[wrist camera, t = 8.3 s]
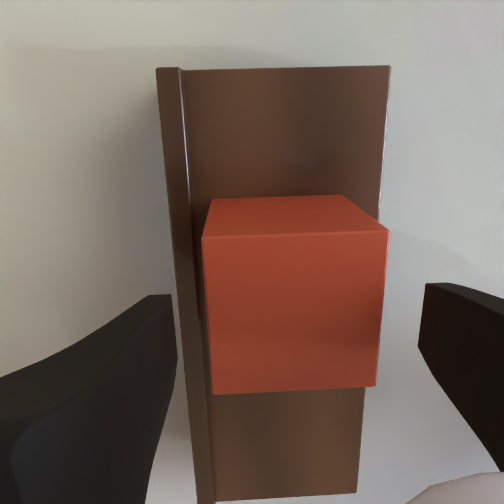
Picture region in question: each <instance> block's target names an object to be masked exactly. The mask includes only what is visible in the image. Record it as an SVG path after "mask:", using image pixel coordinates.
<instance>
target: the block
mask: <svg viewBox="0 0 504 504" xmlns="http://www.w3.org/2000/svg"><path fill="white" fill-rule="evenodd" d="M201 243H202V257H203V271H204V285H205V299H206V313H207V327H208V341H209V355H210V369H211V383H212V393H213V395H222V394H241V393H260V392H279V391H298V390H317V389H336V388H355V387H374V386H375V385H376V375H377V364H378V353H379V342H380V331H381V320H382V309H383V298H384V287H385V276H386V265H387V254H388V243H389V230H388V229H387V228H386V227H384V226H383V225H382V224H380V223H379V222H377V221H376V220H375V219H373V218H372V217H371V216H369V215H368V214H367V213H365V212H364V211H363V210H361V209H360V208H359V207H357V206H356V205H355V204H353V203H352V202H350V201H349V200H348V199H346V198H345V197H344V196H342V195H340V194H337V195H309V196H281V197H253V198H224V199H211V202H210V206H209V210H208V214H207V218H206V222H205V226H204V230H203V234H202V238H201Z"/></svg>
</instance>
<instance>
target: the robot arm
mask: <svg viewBox="0 0 504 504" xmlns="http://www.w3.org/2000/svg"><path fill="white" fill-rule="evenodd" d="M418 348H419V350H420V352H421V354H422V356H423V358H424V360H425V362H426V364H427V366H428V367H429V369H430V371H431V373H432V375H433V376H434V378H435V379H436V381H437V382H438V383H439V385H440V386H441V388H442V389H443V390H444V392H445V393H446V395H447V396H448V397H449V399H450V400H451V401H452V403H453V404H454V405H455V407H456V408H457V410H458V411H459V412H460V414H461V415H462V416H463V418H464V419H465V420H466V422H467V423H468V424H469V426H470V427H471V429H472V430H473V431H474V433H475V434H476V435H477V437H478V438H479V439H480V441H481V442H482V444H483V445H484V447H485V448H486V450H487V451H488V453H489V454H490V455H491V457H492V458H493V460H494V462H495V463H496V465H497V467H498V469H499V470H500V472H492V473H479V474H475V475H471V476H467V477H463V478H459V479H455V480H451V481H447V482H443V483H439V484H435V485H432V486H429V487H428V488H427V489H425V490H424V491H422V492H421V493H420V494H418V495H417V496H416V497H414V498H413V499H412V500H410V501H409V502H407V503H406V504H504V299H502V298H499V297H496V296H493V295H490V294H487V293H484V292H481V291H478V290H475V289H471V288H468V287H465V286H461V285H457V284H452V283H426V285H425V293H424V301H423V309H422V317H421V324H420V332H419V340H418ZM177 359H178V356H177V346H176V336H175V326H174V317H173V307H172V297H171V294H165V295H149V296H147V297H145V298H143V299H142V300H140V301H139V302H137V303H136V304H134V305H133V306H131V307H130V308H129V309H127V310H126V311H124V312H123V313H122V314H120V315H119V316H117V317H116V318H114V319H113V320H111V321H110V322H109V323H107V324H105V325H104V326H102V327H101V328H99V329H98V330H96V331H94V332H93V333H91V334H90V335H88V336H86V337H85V338H83V339H82V340H80V341H78V342H76V343H75V344H73V345H71V346H69V347H67V348H65V349H64V350H62V351H60V352H58V353H56V354H54V355H52V356H50V357H48V358H46V359H43V360H41V361H39V362H37V363H34V364H32V365H29V366H27V367H25V368H22V369H20V370H17V371H15V372H13V373H10V374H8V375H5V376H3V377H0V504H145V499H146V494H147V488H148V482H149V477H150V473H151V468H152V464H153V460H154V456H155V453H156V449H157V446H158V442H159V439H160V435H161V432H162V428H163V425H164V421H165V417H166V414H167V410H168V407H169V403H170V399H171V396H172V392H173V388H174V382H175V375H176V367H177Z"/></svg>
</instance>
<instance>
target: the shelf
mask: <svg viewBox="0 0 504 504" xmlns="http://www.w3.org/2000/svg"><path fill="white" fill-rule="evenodd" d="M155 71H156V81H157V91H158V102H159V112H160V122H161V133H162V143H163V153H164V164H165V174H166V184H167V194H168V205H169V215H170V225H171V236H172V246H173V256H174V267H175V277H176V287H177V298H178V308H179V318H180V329H181V339H182V349H183V359H184V370H185V380H186V390H187V401H188V411H189V421H190V432H191V442H192V452H193V463H194V473H195V483H196V494H197V504H216V502H220V501H236V500H252V499H268V498H284V497H301V496H317V495H333V494H349V493H356V492H357V483H358V470H359V458H360V445H361V433H362V421H363V408H364V396H365V387H355V388H336V389H317V390H298V391H279V392H260V393H241V394H222V395H213V393H212V383H211V369H210V355H209V341H208V327H207V313H206V299H205V285H204V271H203V257H202V243H201V238H202V234H203V230H204V226H205V222H206V218H207V214H208V210H209V206H210V202H211V199H224V198H253V197H281V196H309V195H337V194H340V195H342V196H344V197H345V198H346V199H348V200H349V201H350V202H352V203H353V204H355V205H356V206H357V207H359V208H360V209H361V210H363V211H364V212H365V213H367V214H368V215H369V216H371V217H372V218H373V219H375V220H376V221H377V222H379V210H380V198H381V186H382V173H383V161H384V149H385V136H386V124H387V111H388V99H389V87H390V74H391V66H389V65H379V66H337V67H295V68H253V69H211V70H182V69H180V68H179V67H158V68H156V70H155Z"/></svg>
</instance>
